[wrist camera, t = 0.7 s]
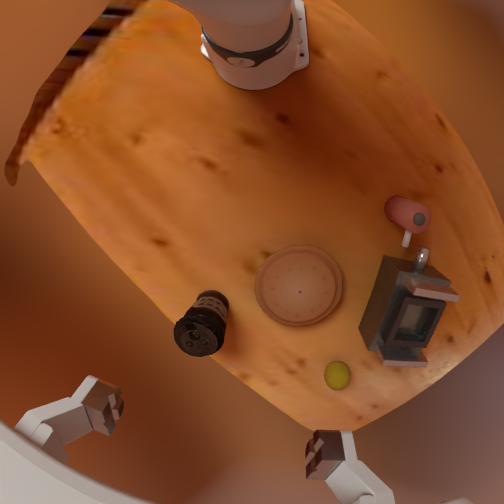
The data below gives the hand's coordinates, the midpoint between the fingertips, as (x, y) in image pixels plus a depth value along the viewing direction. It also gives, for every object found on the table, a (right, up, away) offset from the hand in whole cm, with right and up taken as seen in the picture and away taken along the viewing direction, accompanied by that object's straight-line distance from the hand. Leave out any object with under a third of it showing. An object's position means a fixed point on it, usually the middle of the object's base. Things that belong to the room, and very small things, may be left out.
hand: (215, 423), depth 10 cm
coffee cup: (-6, -3, +45) cm, 46 cm away
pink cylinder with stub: (+27, +13, +37) cm, 48 cm away
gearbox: (+31, -1, +41) cm, 52 cm away
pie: (+10, +2, +43) cm, 44 cm away
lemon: (+20, -18, +48) cm, 55 cm away
